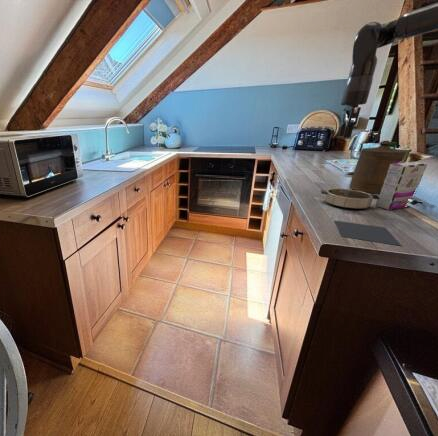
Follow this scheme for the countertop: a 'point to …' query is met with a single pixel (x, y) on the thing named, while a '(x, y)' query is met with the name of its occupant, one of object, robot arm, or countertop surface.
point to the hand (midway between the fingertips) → (344, 137)
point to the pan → (348, 198)
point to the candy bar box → (400, 184)
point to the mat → (366, 232)
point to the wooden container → (374, 167)
